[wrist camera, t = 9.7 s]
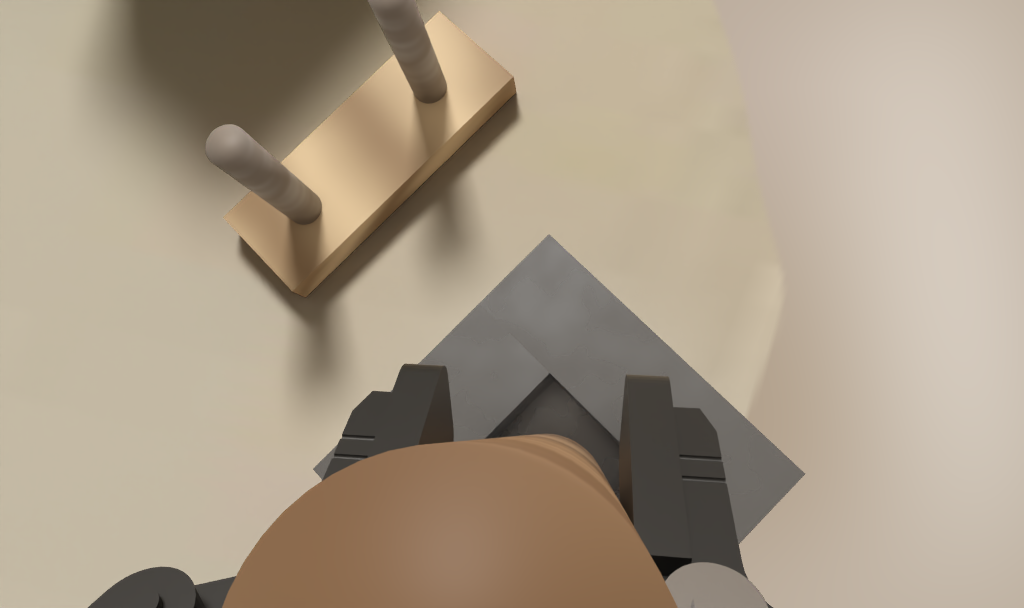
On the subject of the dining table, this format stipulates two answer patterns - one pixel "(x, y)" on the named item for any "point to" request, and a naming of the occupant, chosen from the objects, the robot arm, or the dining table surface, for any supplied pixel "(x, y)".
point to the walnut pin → (456, 534)
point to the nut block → (585, 377)
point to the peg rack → (363, 148)
